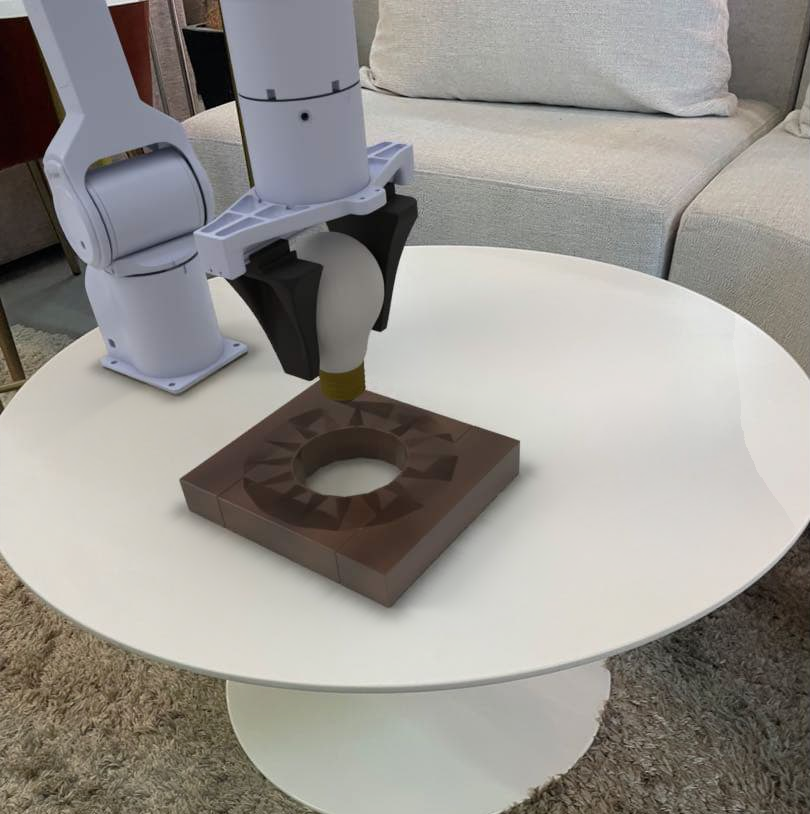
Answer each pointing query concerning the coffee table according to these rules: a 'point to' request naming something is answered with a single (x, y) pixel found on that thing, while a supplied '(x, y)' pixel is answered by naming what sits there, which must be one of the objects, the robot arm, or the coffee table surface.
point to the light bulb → (343, 309)
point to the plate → (364, 513)
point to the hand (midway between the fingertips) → (336, 349)
